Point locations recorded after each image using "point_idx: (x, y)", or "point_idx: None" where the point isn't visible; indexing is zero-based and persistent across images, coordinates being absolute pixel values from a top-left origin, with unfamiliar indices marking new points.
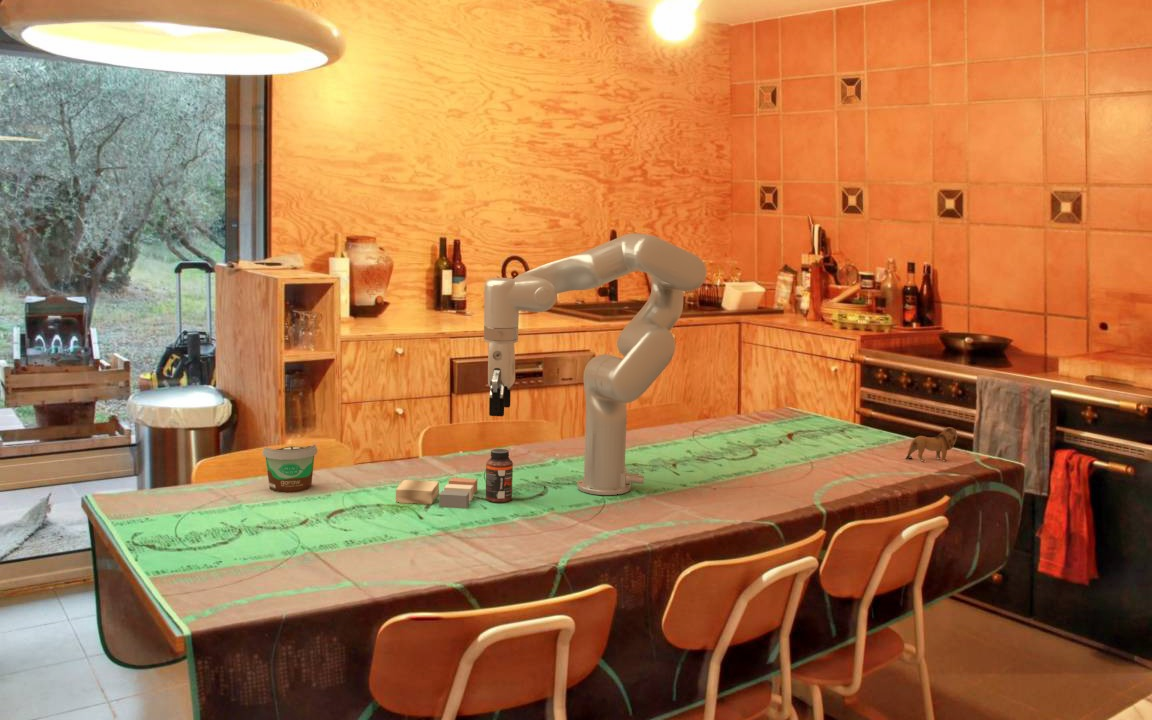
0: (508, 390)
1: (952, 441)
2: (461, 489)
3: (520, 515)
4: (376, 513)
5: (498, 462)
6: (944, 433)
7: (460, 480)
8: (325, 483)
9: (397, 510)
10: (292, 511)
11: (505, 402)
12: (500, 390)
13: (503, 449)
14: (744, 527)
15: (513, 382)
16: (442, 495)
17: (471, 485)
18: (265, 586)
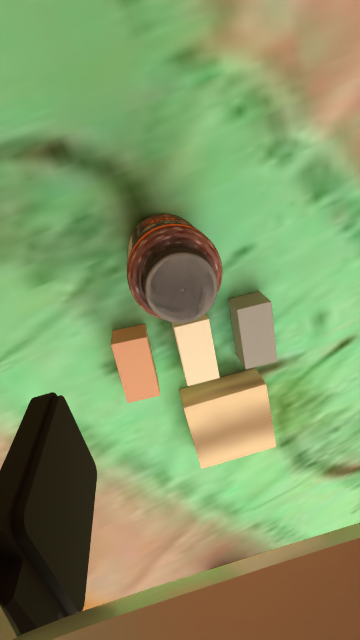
0: (15, 538)
1: None
2: (212, 339)
3: (277, 135)
4: (335, 420)
5: (215, 267)
6: None
7: (145, 374)
8: (194, 563)
9: (310, 401)
10: (350, 516)
11: (66, 443)
12: (64, 593)
13: (154, 285)
14: None
15: (293, 591)
16: (275, 353)
17: (176, 331)
18: None
